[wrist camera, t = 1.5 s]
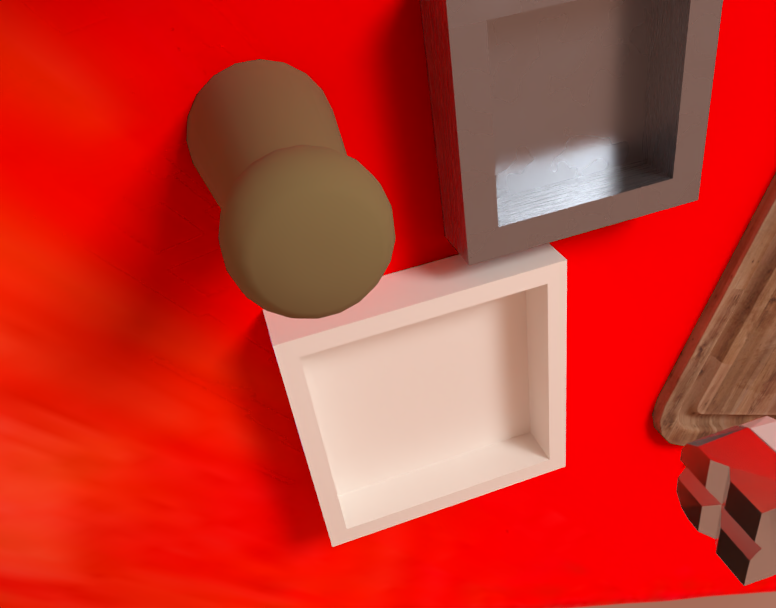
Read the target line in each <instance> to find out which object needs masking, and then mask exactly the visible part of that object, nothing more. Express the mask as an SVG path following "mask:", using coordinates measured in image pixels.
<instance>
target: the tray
mask: <svg viewBox="0 0 776 608" xmlns="http://www.w3.org/2000/svg"><path fill="white" fill-rule="evenodd" d="M263 313H264V316H265V320H266V324H267V327H268V331H269V334H270V338H271V342H272V345H273V349H274V352H275V355H276V359H277V362H278V366H279V369H280V372H281V376H282V379H283V382H284V386H285V389H286V392H287V396H288V399H289V403H290V406H291V409H292V413H293V416H294V419H295V423H296V426H297V429H298V433H299V436H300V440H301V443H302V446H303V450H304V453H305V456H306V460H307V463H308V467H309V470H310V473H311V477H312V480H313V483H314V487H315V490H316V493H317V497H318V500H319V504H320V507H321V510H322V514H323V517H324V520H325V524H326V527H327V530H328V534H329V537H330V541H331V544H332V547H334V546H337V545H340V544H343V543H345V542H348V541H351V540H354V539H357V538H360V537H363V536H366V535H369V534H371V533H374V532H377V531H380V530H383V529H386V528H389V527H392V526H395V525H397V524H400V523H403V522H406V521H409V520H412V519H415V518H418V517H421V516H423V515H426V514H429V513H432V512H435V511H438V510H441V509H444V508H446V507H449V506H452V505H455V504H458V503H461V502H464V501H467V500H470V499H472V498H475V497H478V496H481V495H484V494H487V493H490V492H493V491H496V490H498V489H501V488H504V487H507V486H510V485H513V484H516V483H519V482H522V481H524V480H527V479H530V478H533V477H536V476H539V475H542V474H545V473H548V472H550V471H553V470H556V469H559V468H562V467H565V462H566V324H567V260H566V259H565V258H564V257H563V256H562V255H561V254H560V253H559V252H558V251H557V250H556V249H555V248H553V247H552V246H551V245H550V244H549V243H546V244H543V245H539V246H536V247H532V248H529V249H525V250H522V251H518V252H515V253H511V254H508V255H504V256H501V257H497V258H494V259H490V260H487V261H483V262H480V263H476V264H473V265H468V264H467V263H466V261H465V260H464V259H463V258H462V256H461V255H460V254H459V255H455V256H452V257H448V258H444V259H441V260H437V261H434V262H430V263H427V264H423V265H420V266H416V267H413V268H409V269H406V270H402V271H399V272H395V273H391V274H388V275H384V276H382V277H381V279H380V281H379V282H378V284H377V285H376V286H375V287H374V288H373V289H372V290H371V291H370V292H369V293H368V294H367V295H366V296H365V297H364V298H363V299H362V300H361V301H360V302H359V303H357V304H355V305H353V306H352V307H350V308H348V309H346V310H344V311H343V312H341V313H338V314H334V315H330V316H327V317H323V318H319V319H296V318H288V317H285V316H282V315H279V314H275V313H272V312H269V311H266V310H265V309H264V310H263Z"/></svg>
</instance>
